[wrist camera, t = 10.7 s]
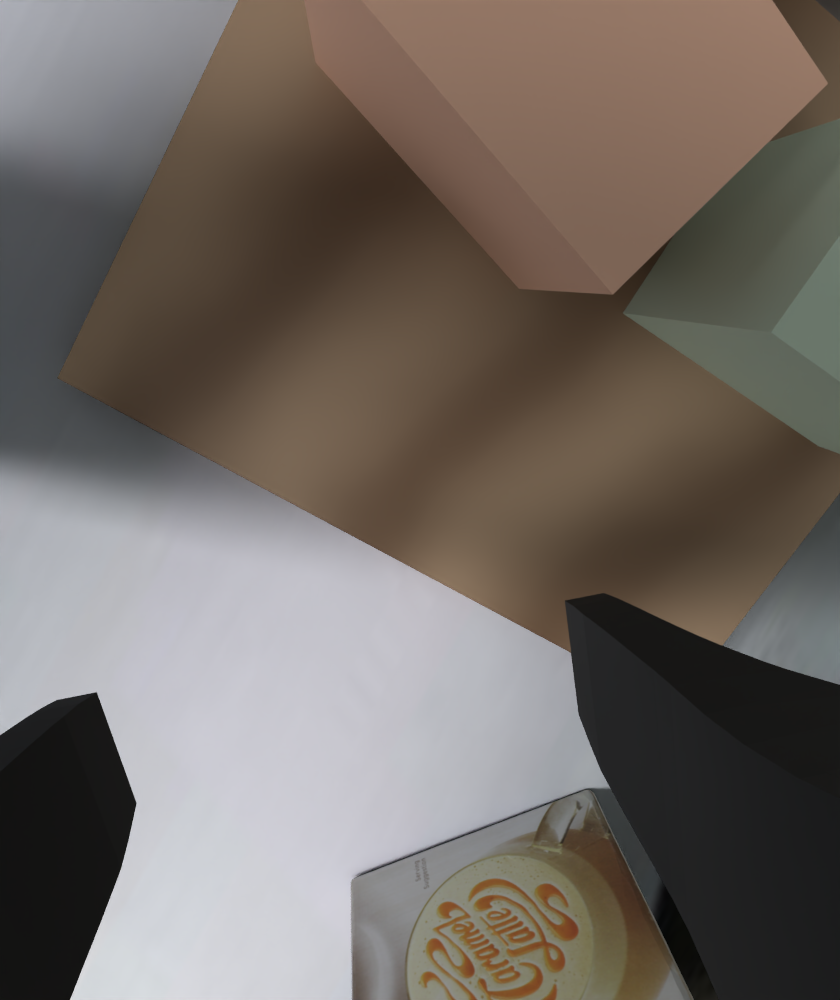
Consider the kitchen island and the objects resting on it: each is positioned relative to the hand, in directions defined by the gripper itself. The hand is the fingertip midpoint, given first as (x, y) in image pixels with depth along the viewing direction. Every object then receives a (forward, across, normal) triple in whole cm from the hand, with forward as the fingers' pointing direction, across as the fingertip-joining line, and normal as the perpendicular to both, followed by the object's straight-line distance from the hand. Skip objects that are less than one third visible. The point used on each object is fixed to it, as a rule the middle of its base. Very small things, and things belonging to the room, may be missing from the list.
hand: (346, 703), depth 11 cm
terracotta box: (+9, -5, -9) cm, 14 cm away
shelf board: (+10, -7, -5) cm, 13 cm away
